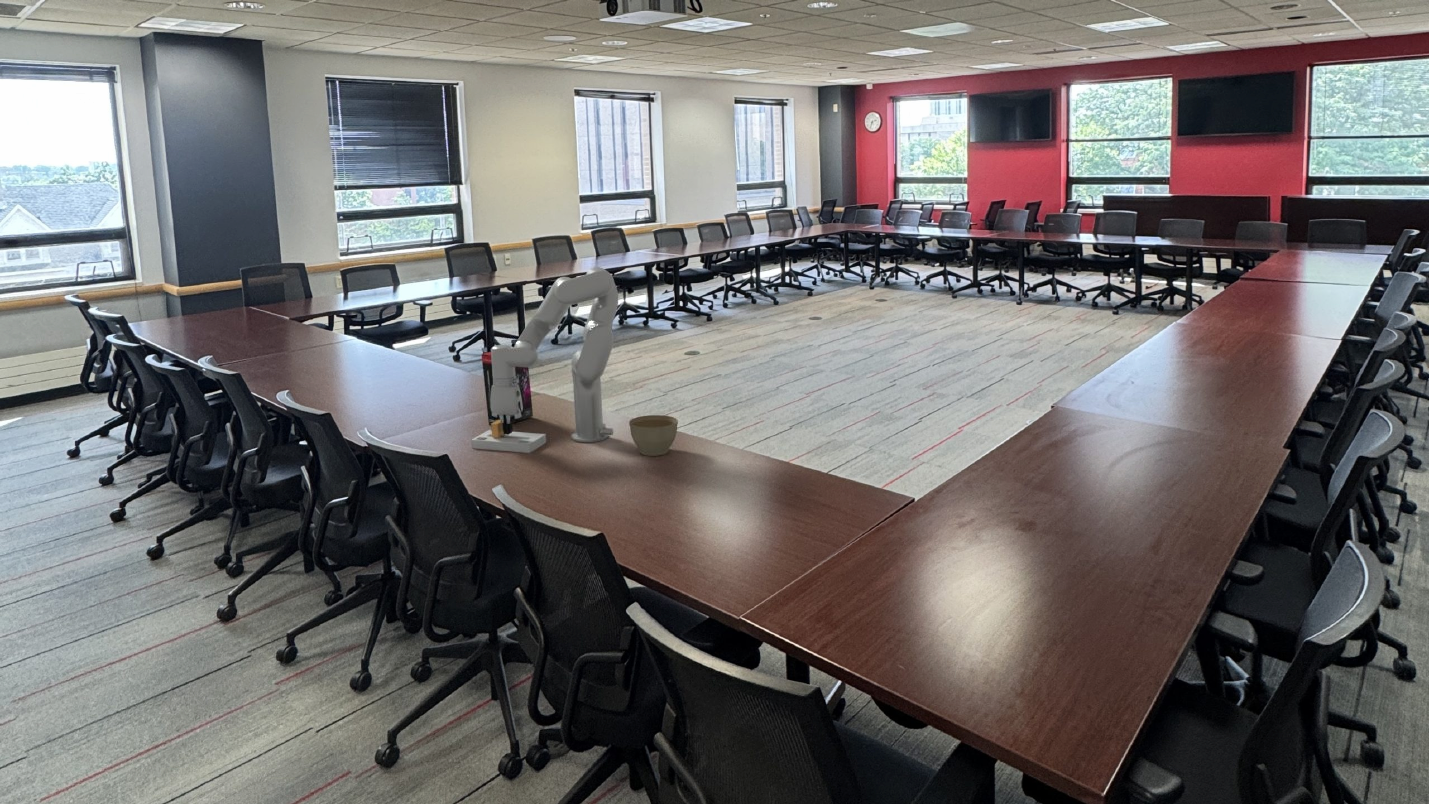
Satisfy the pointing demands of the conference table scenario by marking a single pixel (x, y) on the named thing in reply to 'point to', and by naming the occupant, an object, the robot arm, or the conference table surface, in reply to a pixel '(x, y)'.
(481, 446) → the slider switch
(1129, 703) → the conference table surface
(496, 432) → the orange slider handle
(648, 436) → the planter bowl
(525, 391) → the graphics card box
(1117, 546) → the conference table surface
